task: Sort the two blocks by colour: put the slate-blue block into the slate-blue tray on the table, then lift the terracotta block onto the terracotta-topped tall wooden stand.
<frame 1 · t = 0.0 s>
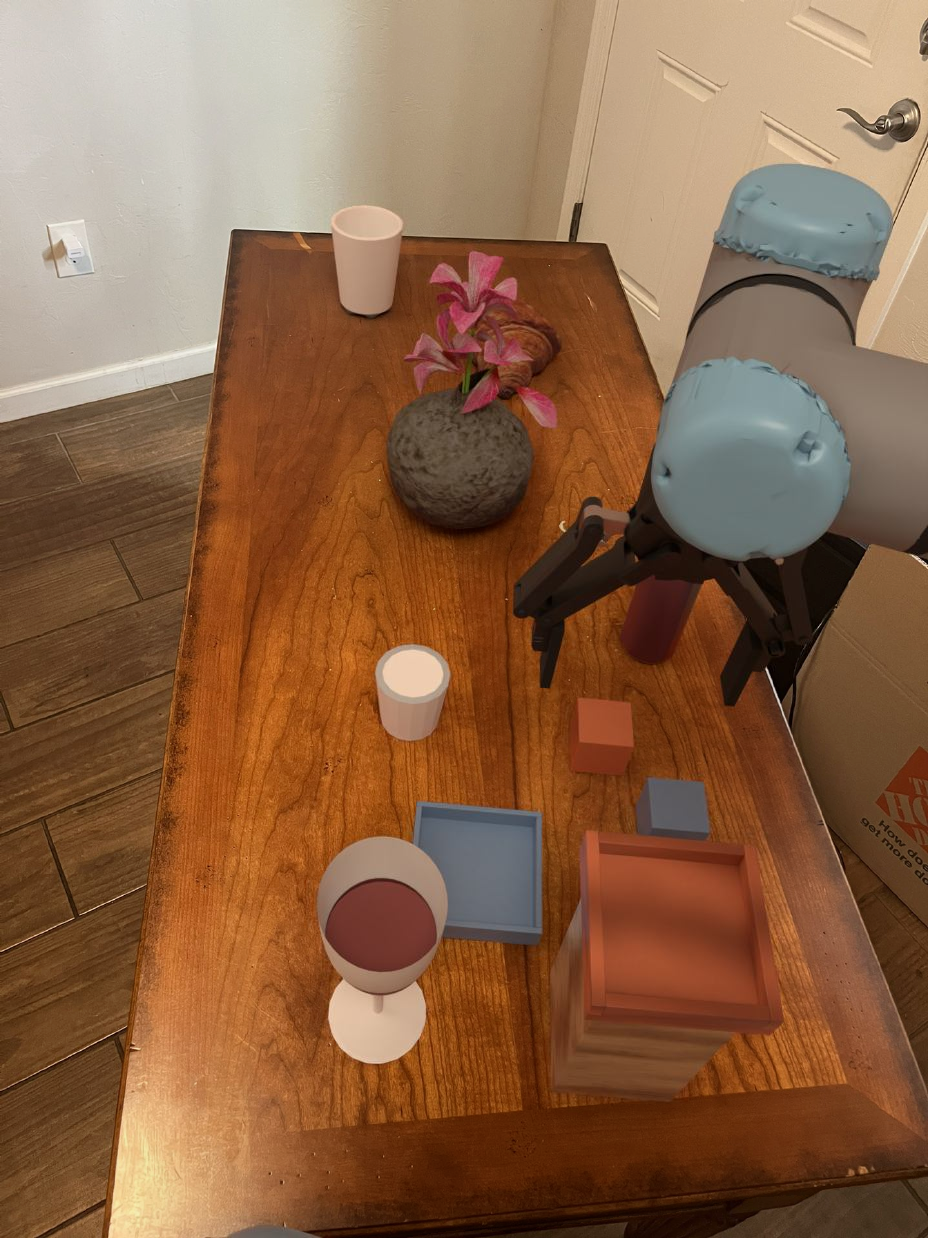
hand: (636, 683, 70), 21 cm above the table, tool pointing down, fingers open, 13 cm apart
pastry: (507, 356, 133), on the table
terracotta block: (595, 751, 90), on the table
slate block: (664, 832, 85), on the table
tray: (474, 877, 80), on the table
shot glass: (409, 717, 91), on the table
cup: (366, 307, 138), on the table
vase: (458, 505, 111), on the table
stand: (673, 930, 58), on the table
wineglass: (377, 1013, 73), on the table
beverage can: (646, 646, 100), on the table
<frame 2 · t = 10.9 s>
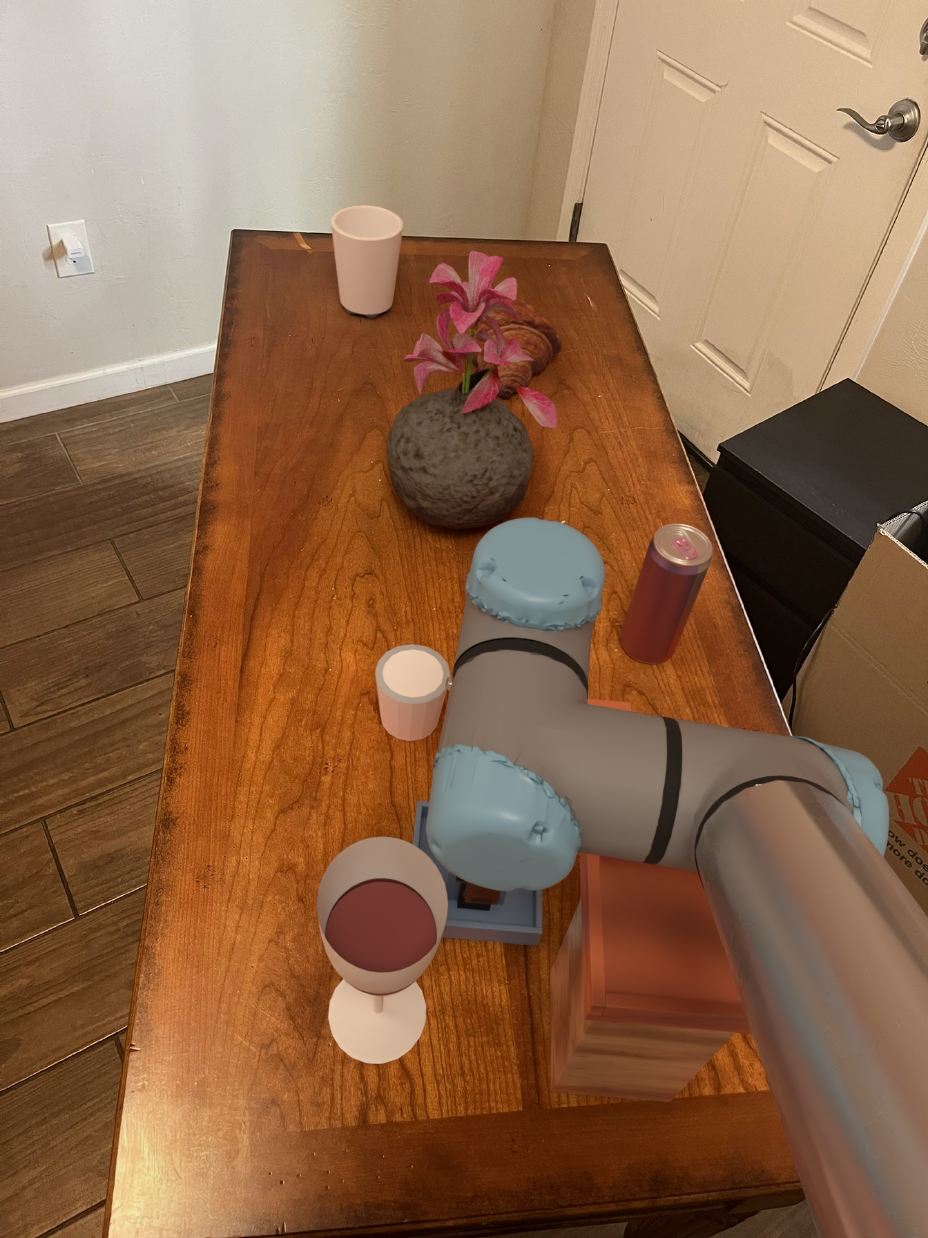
hand: (475, 873, 80), 1 cm above the table, tool pointing down, fingers closed on slate block, 5 cm apart
slate block: (474, 874, 80), point 1 cm above the table, touching gripper, tray
everything else where it was.
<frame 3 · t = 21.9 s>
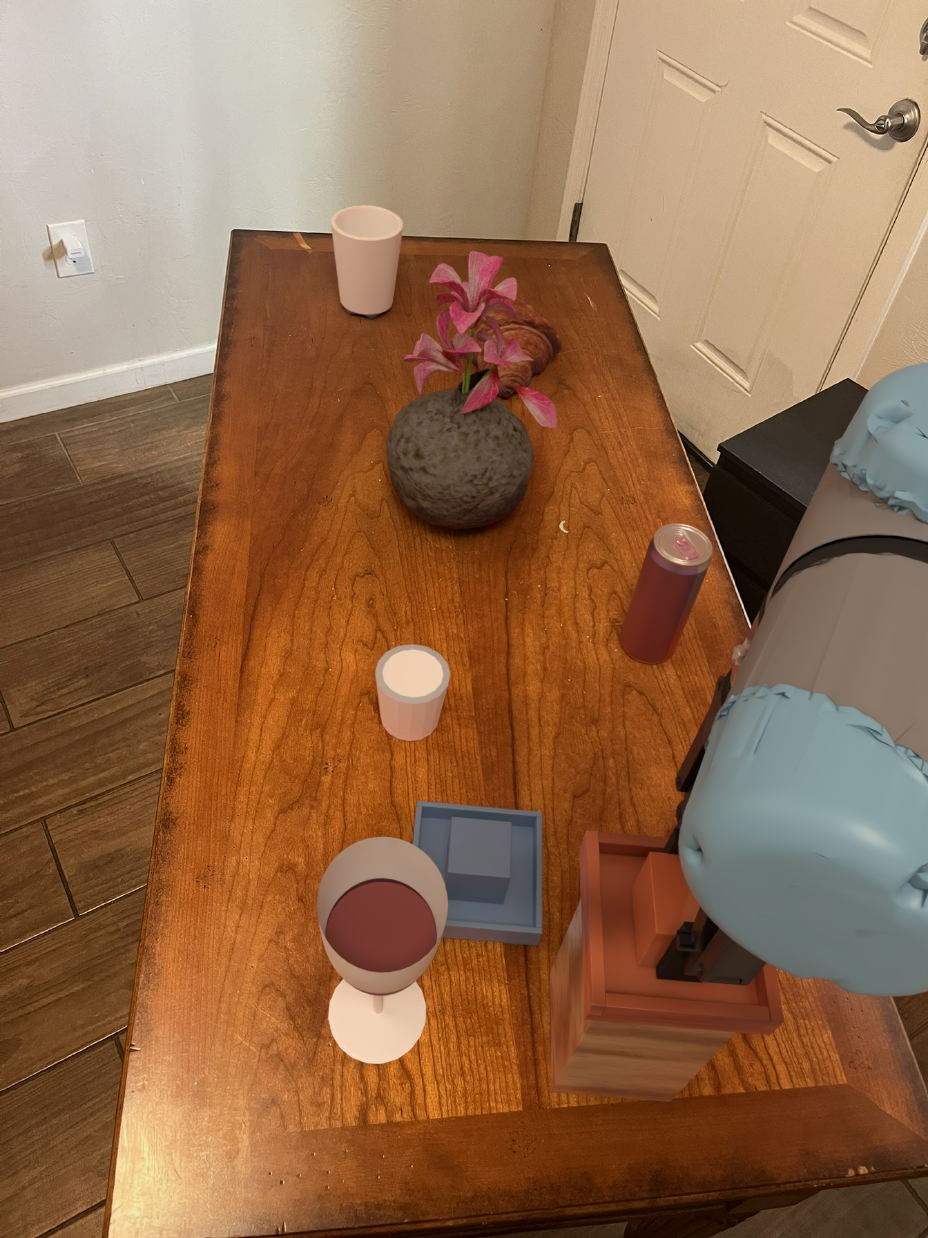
hand: (674, 928, 58), 20 cm above the table, tool pointing down, fingers closed on terracotta block, 5 cm apart
terracotta block: (673, 930, 58), point 20 cm above the table, touching gripper
slate block: (474, 874, 80), resting on tray
everything else where it was.
when the fingers open (22 cm above the table, at t = 23.3 s): terracotta block stays where it is, resting on stand.
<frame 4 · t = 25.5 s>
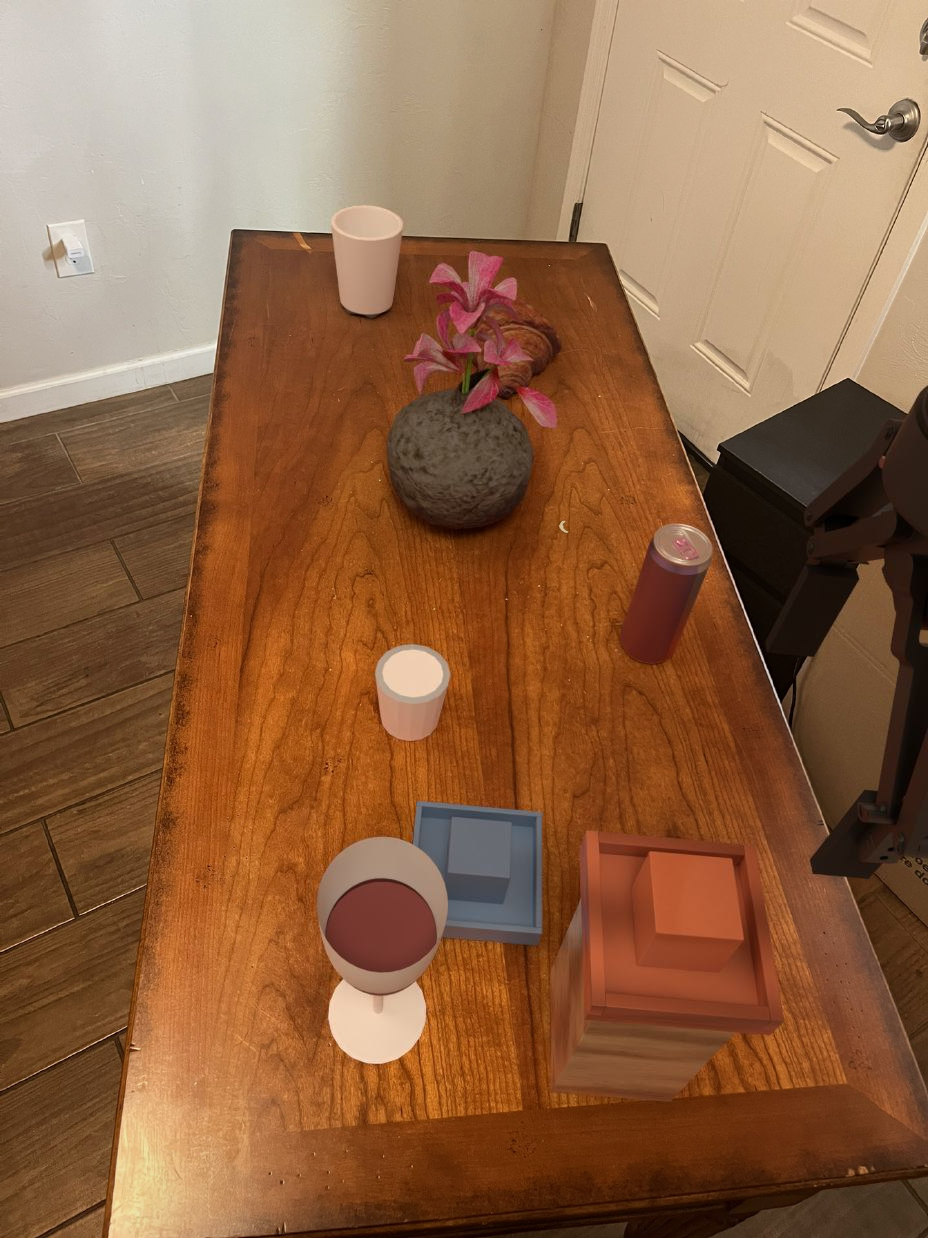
hand: (811, 750, 50), 35 cm above the table, tool pointing down, fingers open, 13 cm apart
terracotta block: (673, 929, 58), point 20 cm above the table, touching stand
everything else where it was.
at the end: slate block inside the target area in the tray (0.1 cm from its centre), point 0.5 cm above the tray's base; terracotta block inside the target area on the stand (0.0 cm from its centre), point 0.0 cm above the stand's base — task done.
